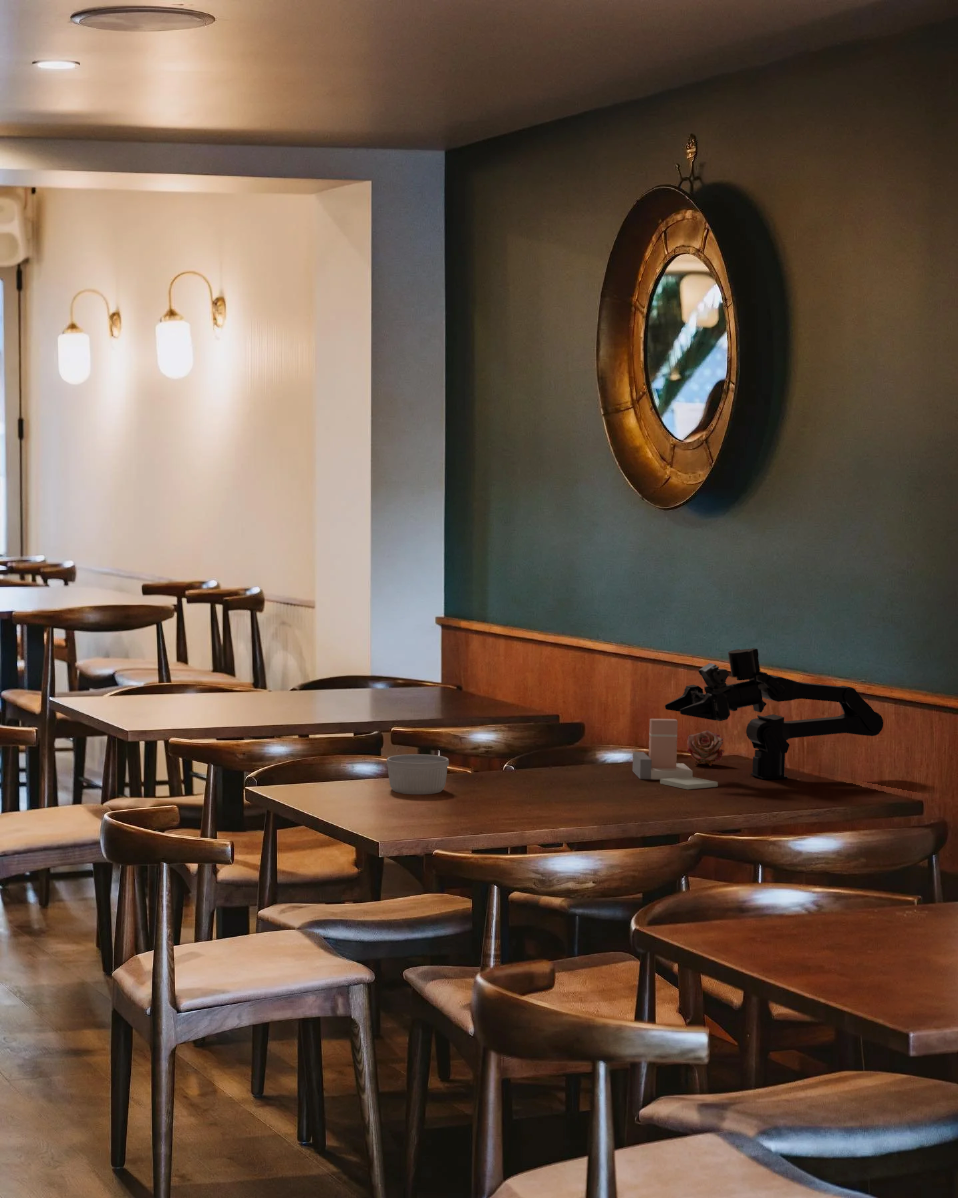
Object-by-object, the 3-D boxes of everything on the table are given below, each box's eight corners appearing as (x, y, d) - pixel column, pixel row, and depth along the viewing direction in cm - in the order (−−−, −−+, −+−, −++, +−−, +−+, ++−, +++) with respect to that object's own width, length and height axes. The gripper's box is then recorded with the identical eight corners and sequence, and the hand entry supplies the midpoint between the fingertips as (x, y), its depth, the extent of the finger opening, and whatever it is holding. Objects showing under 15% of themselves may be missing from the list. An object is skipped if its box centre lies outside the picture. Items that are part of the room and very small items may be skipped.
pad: (690, 780, 368) (690, 776, 368) (717, 786, 360) (717, 782, 360) (660, 783, 363) (660, 779, 363) (687, 789, 355) (687, 785, 355)
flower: (681, 753, 400) (681, 730, 395) (717, 746, 401) (717, 722, 396) (693, 780, 393) (693, 756, 388) (729, 773, 393) (730, 749, 389)
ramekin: (390, 796, 338) (391, 763, 337) (381, 786, 351) (382, 754, 350) (453, 795, 340) (454, 762, 340) (441, 785, 353) (442, 753, 353)
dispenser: (683, 772, 381) (683, 752, 381) (692, 780, 369) (692, 760, 369) (632, 771, 380) (633, 752, 380) (639, 779, 369) (640, 759, 368)
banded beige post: (674, 774, 376) (675, 719, 376) (676, 776, 373) (677, 720, 373) (647, 774, 376) (649, 718, 376) (649, 776, 373) (651, 720, 373)
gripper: (714, 658, 381) (652, 671, 377) (747, 665, 363) (682, 679, 359) (721, 704, 382) (659, 717, 378) (754, 714, 364) (690, 728, 360)
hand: (672, 709), depth 369 cm, fingers open, 9 cm apart
